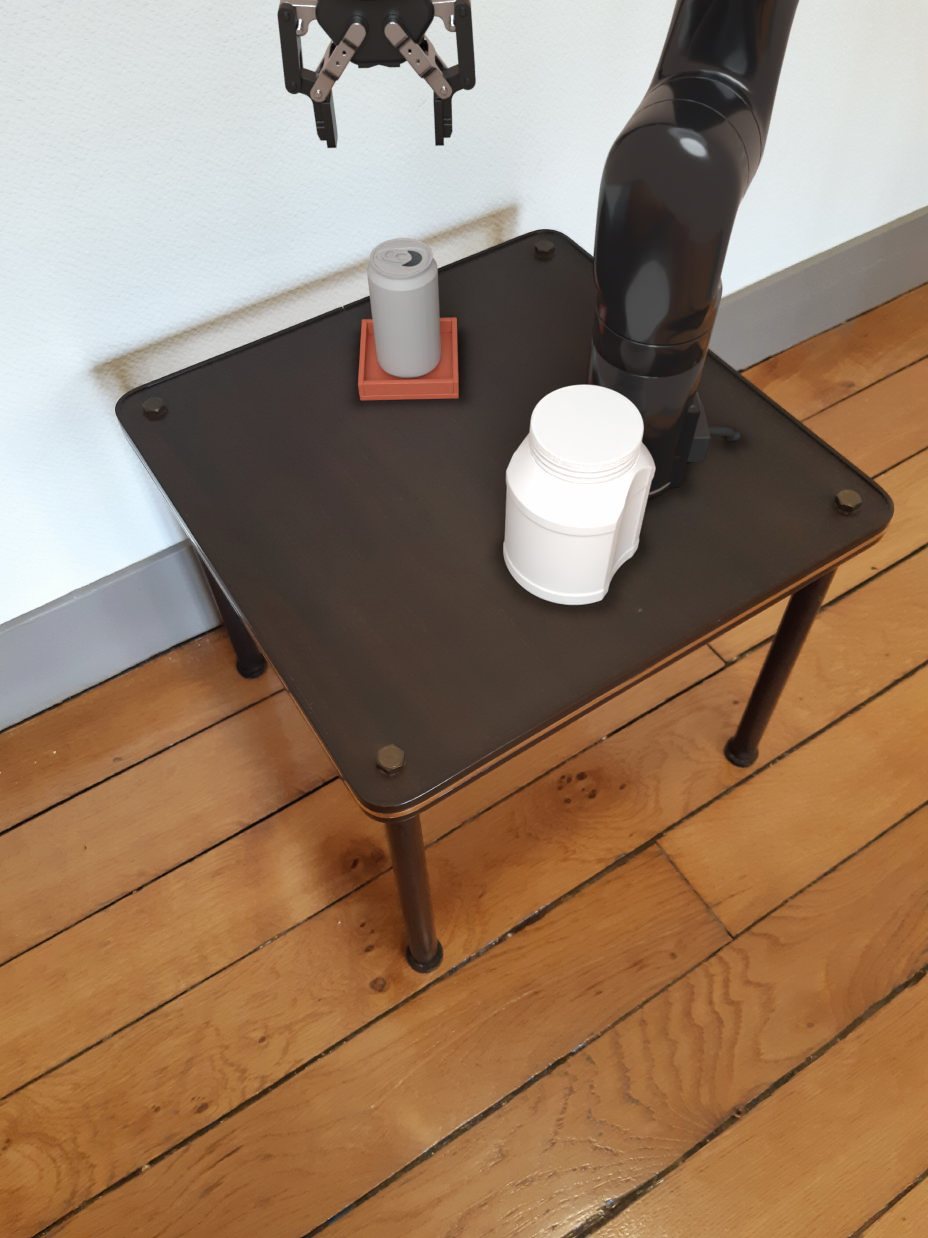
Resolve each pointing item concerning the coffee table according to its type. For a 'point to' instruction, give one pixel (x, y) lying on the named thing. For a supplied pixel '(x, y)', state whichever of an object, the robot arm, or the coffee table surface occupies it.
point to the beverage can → (405, 307)
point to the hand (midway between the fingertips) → (386, 141)
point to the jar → (576, 494)
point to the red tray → (428, 386)
